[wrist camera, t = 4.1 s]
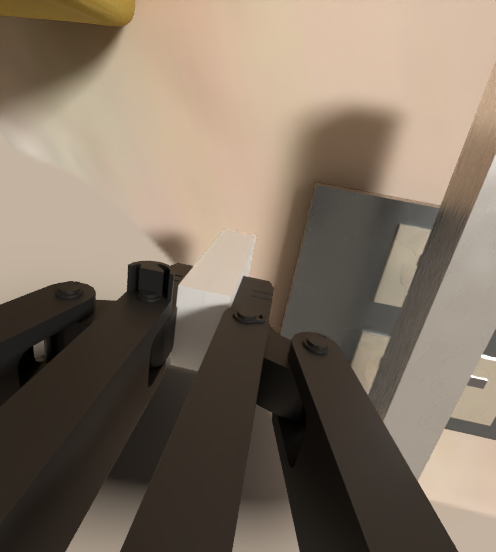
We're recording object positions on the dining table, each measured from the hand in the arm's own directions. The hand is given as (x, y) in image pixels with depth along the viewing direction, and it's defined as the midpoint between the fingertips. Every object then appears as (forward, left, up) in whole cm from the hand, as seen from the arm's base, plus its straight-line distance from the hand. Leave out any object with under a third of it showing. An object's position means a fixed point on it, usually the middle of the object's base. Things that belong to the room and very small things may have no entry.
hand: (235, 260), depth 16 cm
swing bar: (+9, -2, 0) cm, 9 cm away
